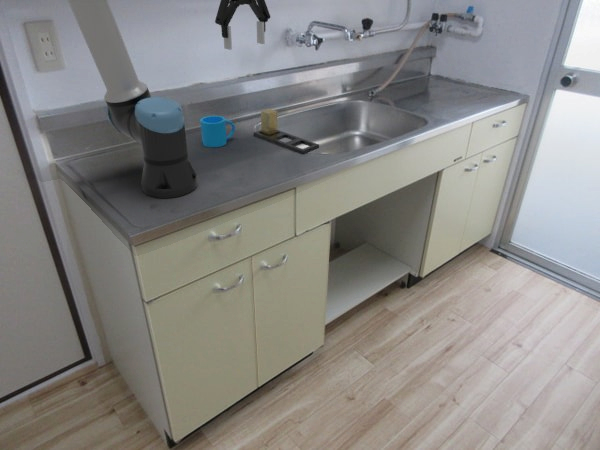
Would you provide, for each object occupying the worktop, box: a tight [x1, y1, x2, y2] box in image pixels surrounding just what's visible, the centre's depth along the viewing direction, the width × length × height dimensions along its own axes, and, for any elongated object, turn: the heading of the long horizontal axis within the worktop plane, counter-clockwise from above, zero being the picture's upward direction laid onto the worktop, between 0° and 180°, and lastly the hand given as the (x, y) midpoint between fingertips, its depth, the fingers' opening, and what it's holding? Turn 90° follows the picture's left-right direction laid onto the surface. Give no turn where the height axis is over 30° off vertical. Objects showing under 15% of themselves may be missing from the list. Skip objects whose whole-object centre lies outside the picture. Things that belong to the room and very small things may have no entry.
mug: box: [199, 115, 236, 148], centre depth 155 cm, size 12×8×8 cm
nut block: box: [260, 108, 278, 137], centre depth 161 cm, size 4×4×9 cm
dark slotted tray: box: [253, 129, 320, 155], centre depth 158 cm, size 8×24×1 cm, turn 47°
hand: (245, 46), depth 144 cm, fingers open, 13 cm apart
